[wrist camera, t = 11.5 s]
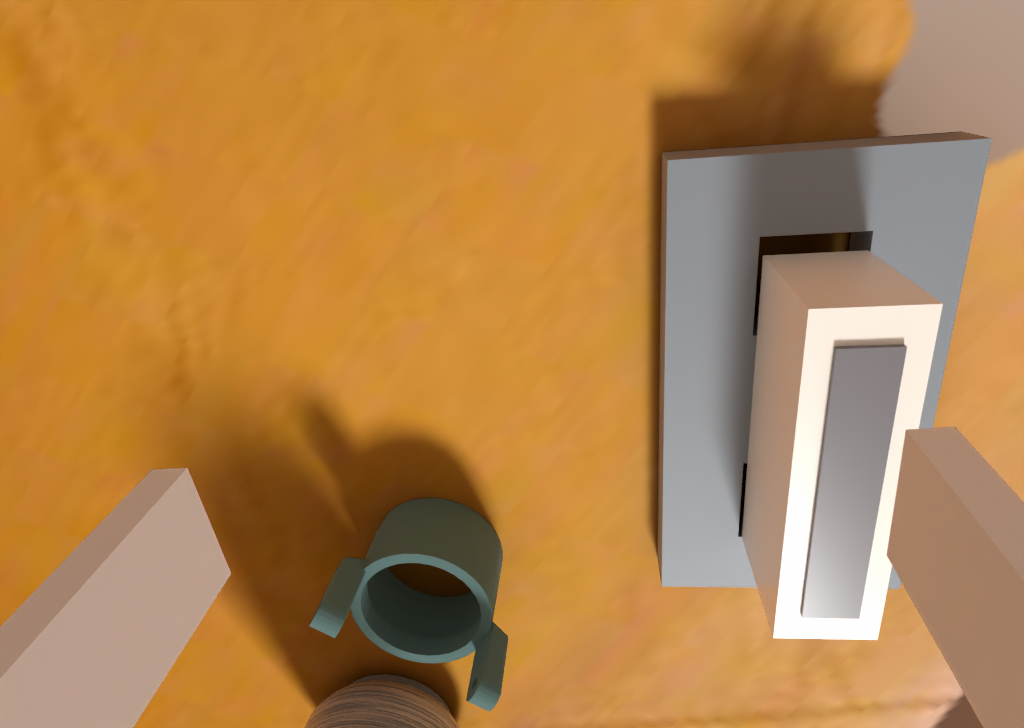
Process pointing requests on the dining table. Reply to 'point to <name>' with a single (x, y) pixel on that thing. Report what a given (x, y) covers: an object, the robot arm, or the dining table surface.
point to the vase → (383, 705)
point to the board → (732, 290)
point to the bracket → (418, 616)
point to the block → (831, 436)
